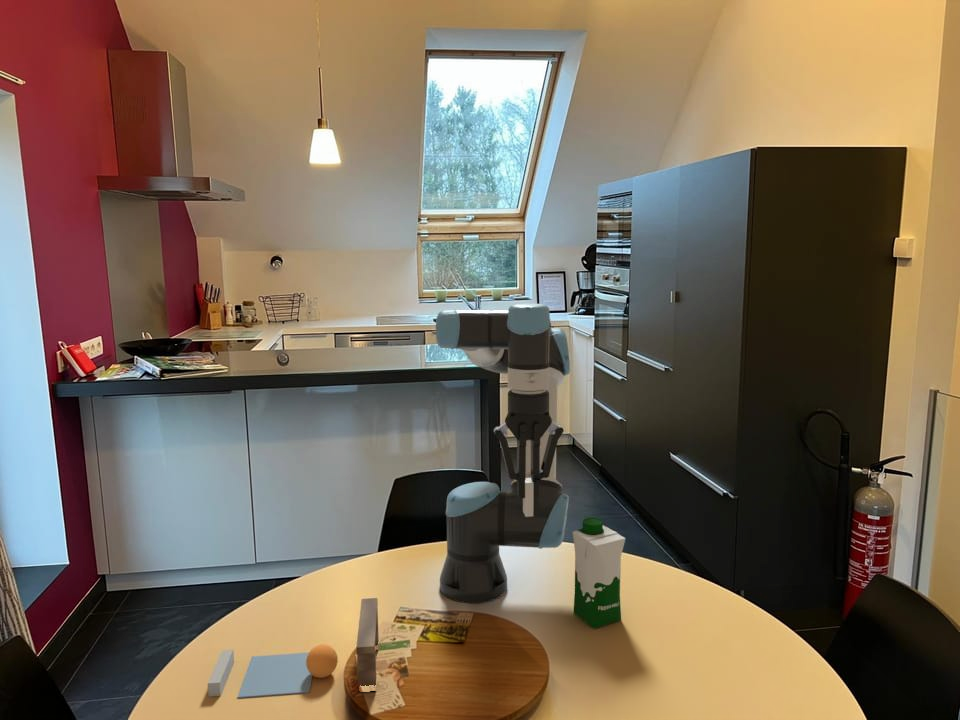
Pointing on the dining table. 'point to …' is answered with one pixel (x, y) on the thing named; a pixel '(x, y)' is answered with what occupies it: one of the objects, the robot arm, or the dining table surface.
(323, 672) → the ball
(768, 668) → the dining table surface
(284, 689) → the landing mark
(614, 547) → the milk carton
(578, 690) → the dining table surface
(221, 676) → the rail
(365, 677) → the bridge
